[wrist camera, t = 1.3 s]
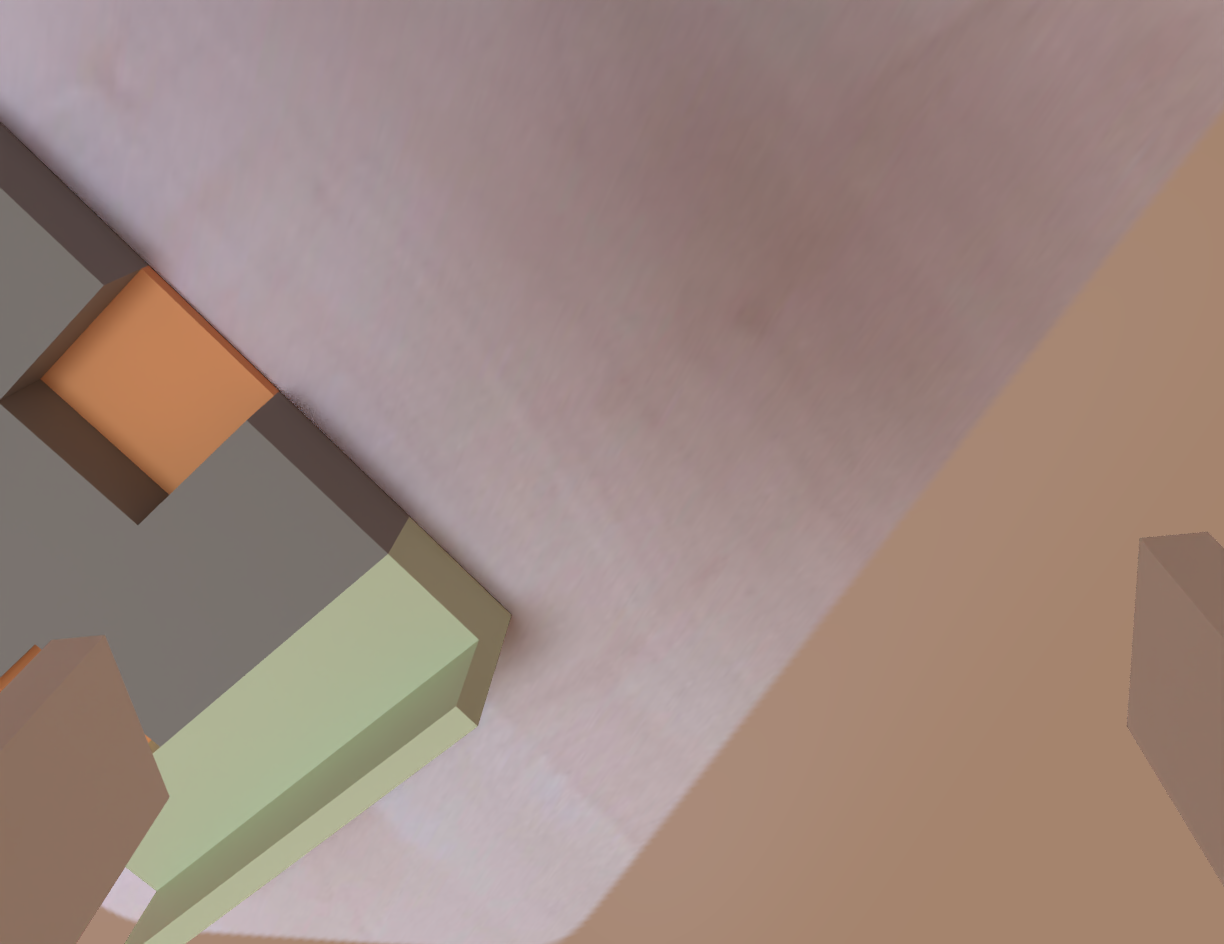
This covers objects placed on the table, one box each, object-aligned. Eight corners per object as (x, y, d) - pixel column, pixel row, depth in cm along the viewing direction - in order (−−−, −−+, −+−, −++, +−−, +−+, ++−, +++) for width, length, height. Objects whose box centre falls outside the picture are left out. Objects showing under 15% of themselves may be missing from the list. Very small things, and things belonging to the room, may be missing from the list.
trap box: (-294, 454, 40) (-481, 536, 34) (-19, 104, 34) (-181, 123, 28) (205, 853, 46) (128, 986, 40) (511, 615, 41) (477, 726, 34)
